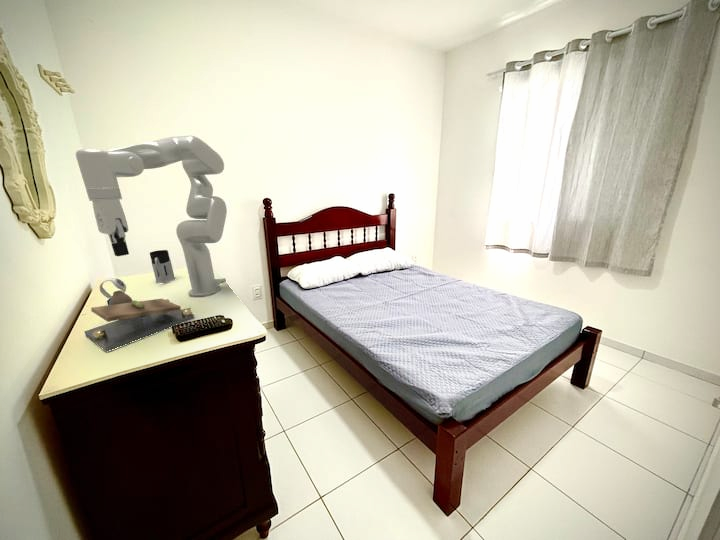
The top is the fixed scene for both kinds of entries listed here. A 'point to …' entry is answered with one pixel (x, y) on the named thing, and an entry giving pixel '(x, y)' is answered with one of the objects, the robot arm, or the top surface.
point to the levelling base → (136, 328)
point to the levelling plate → (134, 309)
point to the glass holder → (162, 266)
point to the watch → (117, 283)
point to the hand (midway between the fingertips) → (122, 255)
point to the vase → (119, 298)
